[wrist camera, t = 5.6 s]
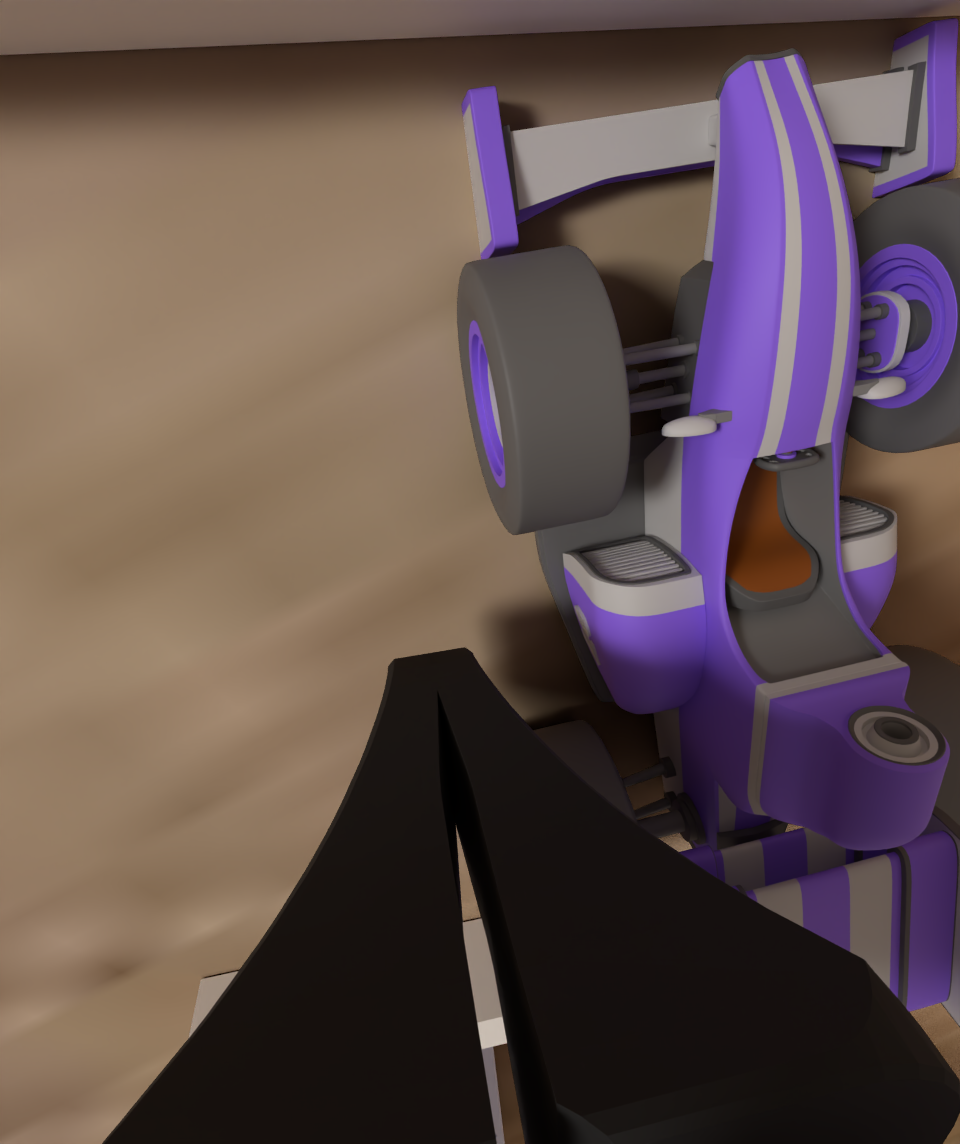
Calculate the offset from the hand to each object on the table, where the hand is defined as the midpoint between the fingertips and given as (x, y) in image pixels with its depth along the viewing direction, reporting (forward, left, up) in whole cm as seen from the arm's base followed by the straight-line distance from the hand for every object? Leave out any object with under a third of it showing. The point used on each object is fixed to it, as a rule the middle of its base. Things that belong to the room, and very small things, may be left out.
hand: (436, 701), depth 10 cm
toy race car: (+1, -5, -2) cm, 6 cm away
